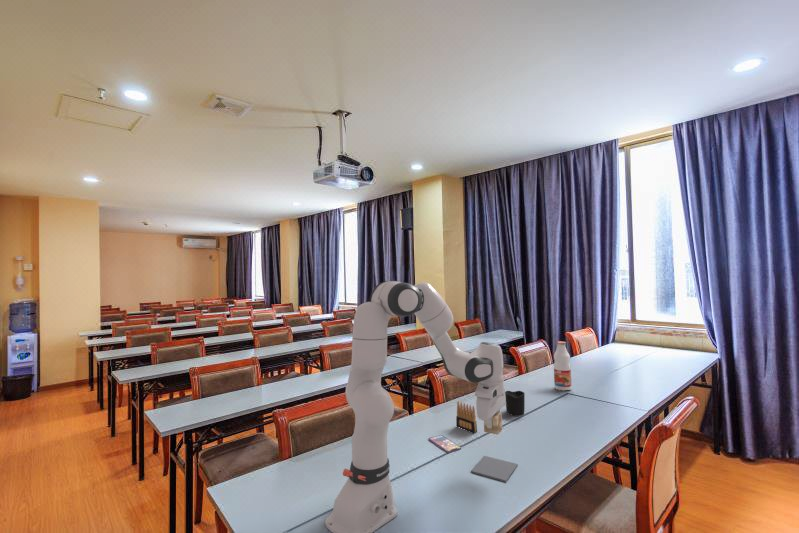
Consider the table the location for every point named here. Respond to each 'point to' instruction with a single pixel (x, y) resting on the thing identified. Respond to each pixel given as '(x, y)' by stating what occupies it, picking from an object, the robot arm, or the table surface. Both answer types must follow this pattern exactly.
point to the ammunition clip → (466, 417)
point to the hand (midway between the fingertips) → (493, 424)
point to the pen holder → (515, 402)
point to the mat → (494, 468)
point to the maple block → (494, 424)
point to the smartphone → (444, 443)
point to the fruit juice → (562, 367)
